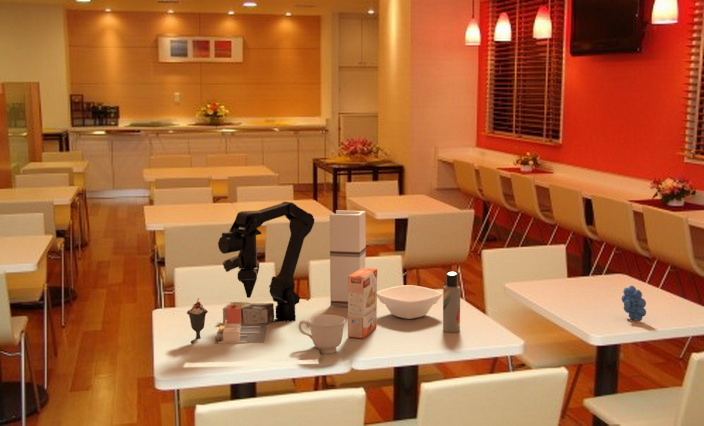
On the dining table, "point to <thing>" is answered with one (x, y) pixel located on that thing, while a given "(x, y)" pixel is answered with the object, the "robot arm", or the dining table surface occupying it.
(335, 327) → the teacup
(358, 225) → the white banded column
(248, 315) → the coffee box
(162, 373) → the dining table surface
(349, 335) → the cracker box
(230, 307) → the orange rectangular prism
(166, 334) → the dining table surface
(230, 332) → the block
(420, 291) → the bowl
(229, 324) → the block
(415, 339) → the dining table surface
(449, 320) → the lotion bottle
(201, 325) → the sundae
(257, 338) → the panel
